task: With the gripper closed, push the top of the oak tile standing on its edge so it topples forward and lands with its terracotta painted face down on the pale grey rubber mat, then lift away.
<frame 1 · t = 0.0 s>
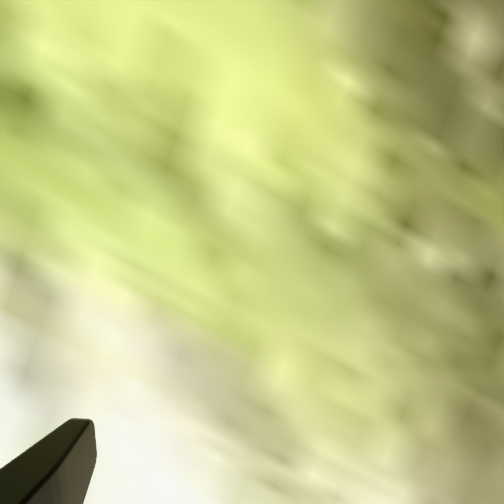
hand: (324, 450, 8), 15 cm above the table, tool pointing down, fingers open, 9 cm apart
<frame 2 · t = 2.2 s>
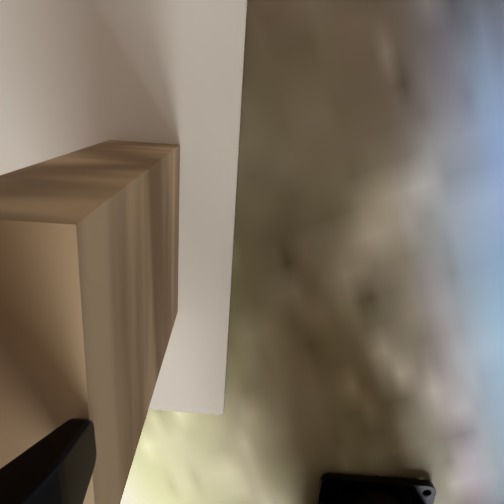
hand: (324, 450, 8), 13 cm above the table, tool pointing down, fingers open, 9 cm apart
grey rubber mat: (11, 217, 21), on the table
oak tile: (145, 231, 20), point 1 cm above the table, touching grey rubber mat, gripper
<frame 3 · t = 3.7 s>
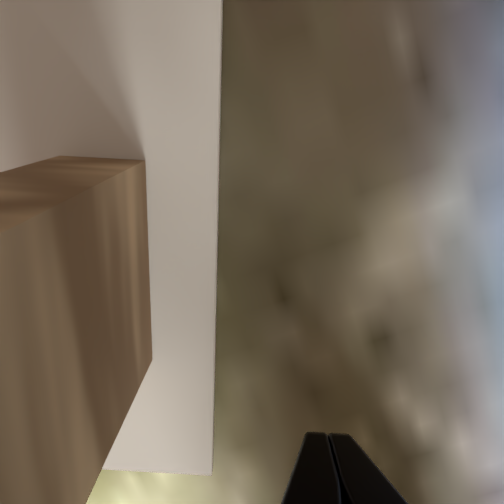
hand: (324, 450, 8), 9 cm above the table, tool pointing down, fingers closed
oak tile: (109, 265, 17), point 1 cm above the table, touching grey rubber mat
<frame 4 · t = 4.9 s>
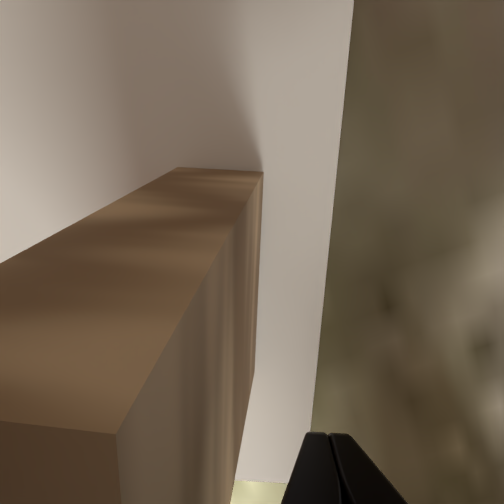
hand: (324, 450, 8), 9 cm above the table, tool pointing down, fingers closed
grey rubber mat: (54, 262, 17), on the table
oak tile: (218, 276, 17), point 1 cm above the table, touching grey rubber mat, gripper
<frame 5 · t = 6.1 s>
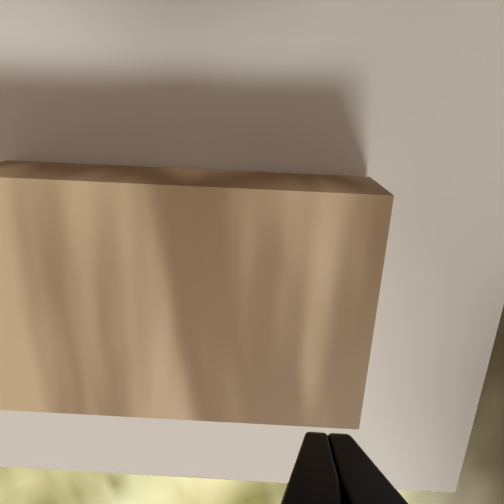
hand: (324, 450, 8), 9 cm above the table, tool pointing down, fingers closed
grey rubber mat: (228, 270, 17), on the table
oak tile: (364, 302, 15), point 2 cm above the table, tilted 90°, touching grey rubber mat
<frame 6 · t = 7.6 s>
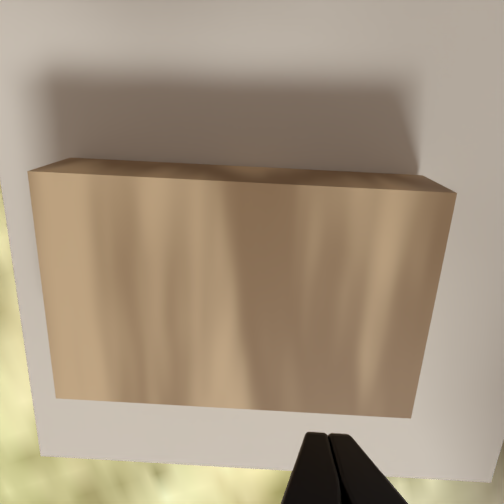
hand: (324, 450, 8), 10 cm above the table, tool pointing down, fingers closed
grey rubber mat: (278, 265, 18), on the table
oak tile: (416, 296, 15), point 2 cm above the table, tilted 90°, touching grey rubber mat
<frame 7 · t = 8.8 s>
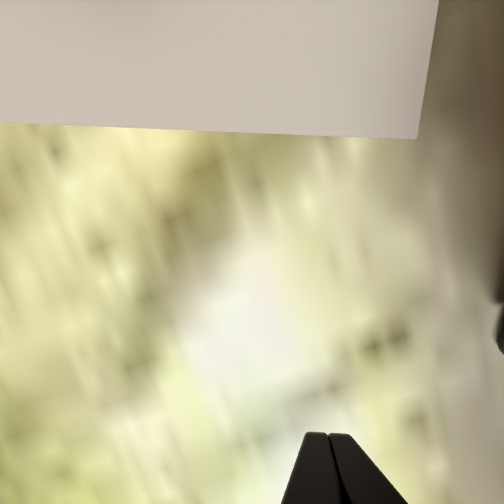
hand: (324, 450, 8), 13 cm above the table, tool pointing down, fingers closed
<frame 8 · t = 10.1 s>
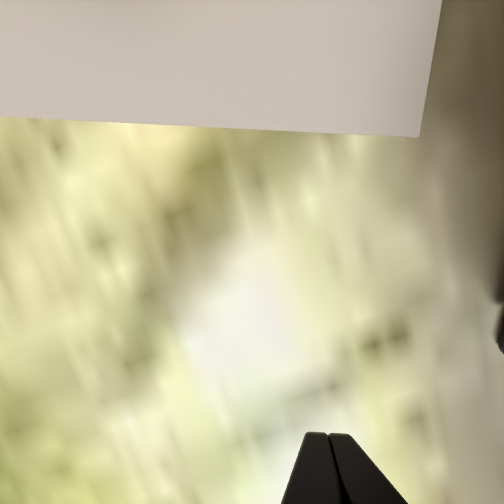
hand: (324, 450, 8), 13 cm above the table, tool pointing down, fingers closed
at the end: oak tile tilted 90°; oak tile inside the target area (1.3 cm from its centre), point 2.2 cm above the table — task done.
